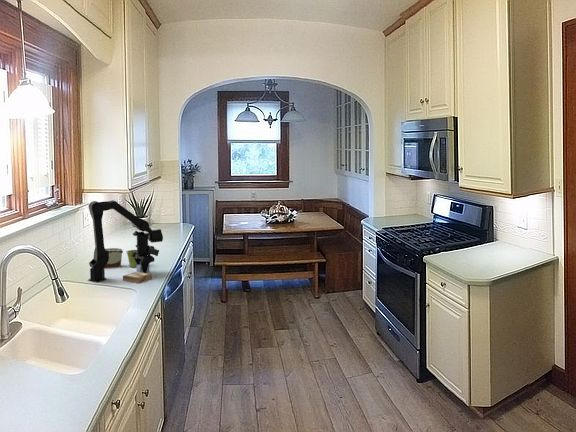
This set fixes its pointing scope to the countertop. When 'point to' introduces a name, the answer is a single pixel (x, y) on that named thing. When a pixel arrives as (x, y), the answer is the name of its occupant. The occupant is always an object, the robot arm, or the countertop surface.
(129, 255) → the plant pot
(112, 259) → the food container
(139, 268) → the block
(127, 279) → the base
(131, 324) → the countertop surface
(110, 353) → the countertop surface
